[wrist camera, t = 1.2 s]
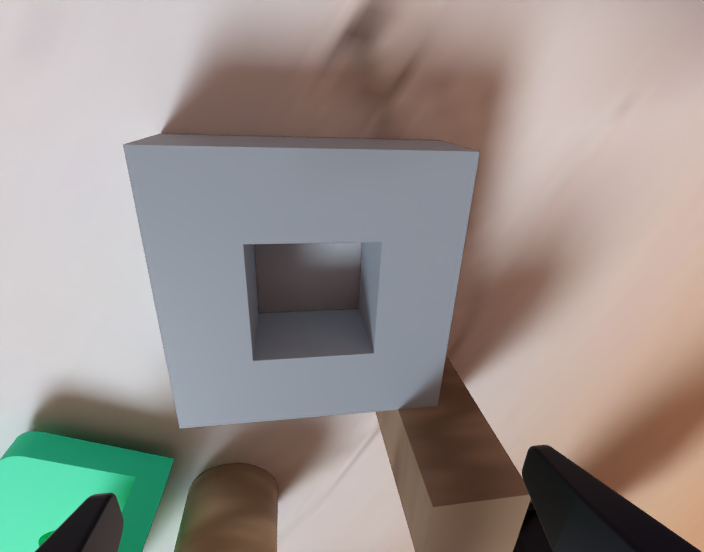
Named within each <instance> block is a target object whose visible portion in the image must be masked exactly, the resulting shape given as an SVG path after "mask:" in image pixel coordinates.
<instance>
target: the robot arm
mask: <svg viewBox="0 0 704 552" xmlns="http://www.w3.org/2000/svg"><path fill="white" fill-rule="evenodd" d="M522 477H523V481H524V483H525V486H526V488H527V491H528V493H529V495H530V498H531V500H532V503H533V505H528V508H527V511H526V514H525V517H524V520H523V523H522V526H521V529H520V532H519V535H518V538H517V541H516V544H515V547H514V550H513V552H701V551H700V550H699V549H697V548H696V547H694V546H693V545H691V544H690V543H688V542H687V541H686V540H684V539H683V538H681V537H680V536H678V535H677V534H676V533H674V532H673V531H671V530H670V529H668V528H667V527H666V526H664V525H663V524H661V523H660V522H658V521H657V520H655V519H654V518H653V517H651V516H650V515H648V514H647V513H645V512H644V511H643V510H641V509H640V508H638V507H637V506H635V505H634V504H632V503H631V502H630V501H628V500H627V499H625V498H624V497H622V496H621V495H620V494H618V493H617V492H615V491H614V490H612V489H611V488H609V487H608V486H607V485H605V484H604V483H602V482H601V481H599V480H598V479H597V478H595V477H594V476H592V475H591V474H589V473H588V472H586V471H585V470H584V469H582V468H581V467H579V466H578V465H576V464H575V463H574V462H572V461H571V460H569V459H568V458H566V457H565V456H563V455H562V454H561V453H559V452H558V451H556V450H555V449H553V448H552V447H550V446H548V445H537V446H531V447H530V448H529V450H528V452H527V456H526V459H525V462H524V465H523V469H522ZM123 526H124V521H123V516H122V512H121V509H120V506H119V503H118V500H117V497H116V495H115V494H114V493H101V494H94V495H91V496H90V497H88V498H87V499H86V500H85V501H84V502H83V503H82V504H81V505H80V506H79V507H78V508H77V509H76V510H75V511H74V512H73V513H72V514H71V515H70V516H69V517H68V518H67V519H66V520H65V521H64V522H63V523H62V524H61V525H60V526H59V527H58V528H57V529H56V530H55V531H54V532H53V533H52V534H51V535H50V537H49V538H48V539H47V540H46V541H45V542H44V543H43V544H42V545H41V546H40V547H39V548H38V549H37V550H36V551H35V552H118V549H119V545H120V540H121V536H122V532H123Z"/></svg>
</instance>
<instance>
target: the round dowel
mask: <svg viewBox="0 0 704 552" xmlns="http://www.w3.org/2000/svg"><path fill="white" fill-rule="evenodd" d="M277 513H278V487H277V483H276V481H275V479H274V478H273V477H272V476H271V475H270V474H269V473H268V472H267V471H265V470H263V469H261V468H259V467H256V466H253V465H249V464H240V463H234V464H225V465H220V466H217V467H214V468H211V469H209V470H207V471H205V472H204V473H202V474H201V475H199V476H198V477H197V478H196V479H195V480H194V481H193V483H192V484H191V486H190V488H189V492H188V496H187V500H186V504H185V508H184V512H183V516H182V520H181V524H180V529H179V533H178V537H177V541H176V545H175V549H174V552H277Z"/></svg>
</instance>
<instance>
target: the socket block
mask: <svg viewBox="0 0 704 552" xmlns="http://www.w3.org/2000/svg"><path fill="white" fill-rule="evenodd" d="M123 147H124V152H125V157H126V162H127V167H128V172H129V177H130V182H131V187H132V192H133V197H134V202H135V207H136V212H137V217H138V222H139V227H140V232H141V237H142V242H143V247H144V252H145V257H146V262H147V268H148V273H149V278H150V283H151V288H152V293H153V298H154V303H155V308H156V313H157V318H158V323H159V328H160V333H161V338H162V343H163V348H164V353H165V358H166V363H167V368H168V373H169V378H170V383H171V388H172V393H173V398H174V403H175V408H176V413H177V418H178V424H179V429H182V428H193V427H205V426H216V425H228V424H239V423H251V422H262V421H274V420H285V419H296V418H308V417H319V416H331V415H342V414H354V413H365V412H377V411H388V410H399V409H411V408H422V407H434V406H438V400H439V394H440V388H441V382H442V376H443V370H444V364H445V358H446V352H447V346H448V340H449V334H450V328H451V322H452V316H453V310H454V304H455V298H456V292H457V286H458V280H459V274H460V268H461V262H462V256H463V250H464V244H465V238H466V232H467V226H468V220H469V214H470V208H471V202H472V196H473V190H474V184H475V177H476V171H477V165H478V159H479V153H480V152H479V151H476V150H472V149H469V148H465V147H462V146H458V145H455V144H451V143H448V142H444V141H441V140H401V139H360V138H318V137H277V136H235V135H194V134H157V135H154V136H150V137H147V138H144V139H140V140H137V141H134V142H130V143H127V144H124V145H123ZM349 242H362V250H361V271H360V291H359V309H343V310H320V311H298V312H276V313H259V309H258V296H257V282H256V268H255V254H254V244H294V243H349Z"/></svg>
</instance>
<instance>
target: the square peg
mask: <svg viewBox="0 0 704 552" xmlns="http://www.w3.org/2000/svg"><path fill="white" fill-rule="evenodd" d="M376 415H377V419H378V422H379V426H380V429H381V433H382V436H383V440H384V443H385V447H386V450H387V454H388V457H389V461H390V464H391V468H392V471H393V475H394V478H395V482H396V485H397V489H398V492H399V496H400V499H401V503H402V506H403V510H404V514H405V517H406V521H407V524H408V528H409V531H410V535H411V538H412V542H413V545H414V549H415V552H513V550H514V547H515V544H516V541H517V538H518V535H519V532H520V529H521V526H522V523H523V520H524V517H525V514H526V511H527V508H528V505H529V503H530V500H531V498H530V495H529V493H528V491H527V488H526V486H525V483H524V481H523V479H522V477H521V475H520V474H519V472H518V470H517V469H516V467H515V466H514V464H513V462H512V461H511V459H510V458H509V456H508V454H507V453H506V451H505V450H504V448H503V446H502V445H501V443H500V441H499V440H498V438H497V437H496V435H495V433H494V432H493V430H492V429H491V427H490V425H489V424H488V422H487V420H486V419H485V417H484V416H483V414H482V412H481V411H480V409H479V408H478V406H477V404H476V403H475V401H474V399H473V398H472V396H471V395H470V393H469V391H468V390H467V388H466V387H465V385H464V383H463V382H462V380H461V379H460V377H459V375H458V374H457V372H456V370H455V369H454V367H453V366H452V364H451V362H450V361H449V359H448V358H447V356H446V358H445V364H444V370H443V376H442V382H441V388H440V394H439V400H438V406H434V407H422V408H411V409H399V410H388V411H377V412H376Z"/></svg>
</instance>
